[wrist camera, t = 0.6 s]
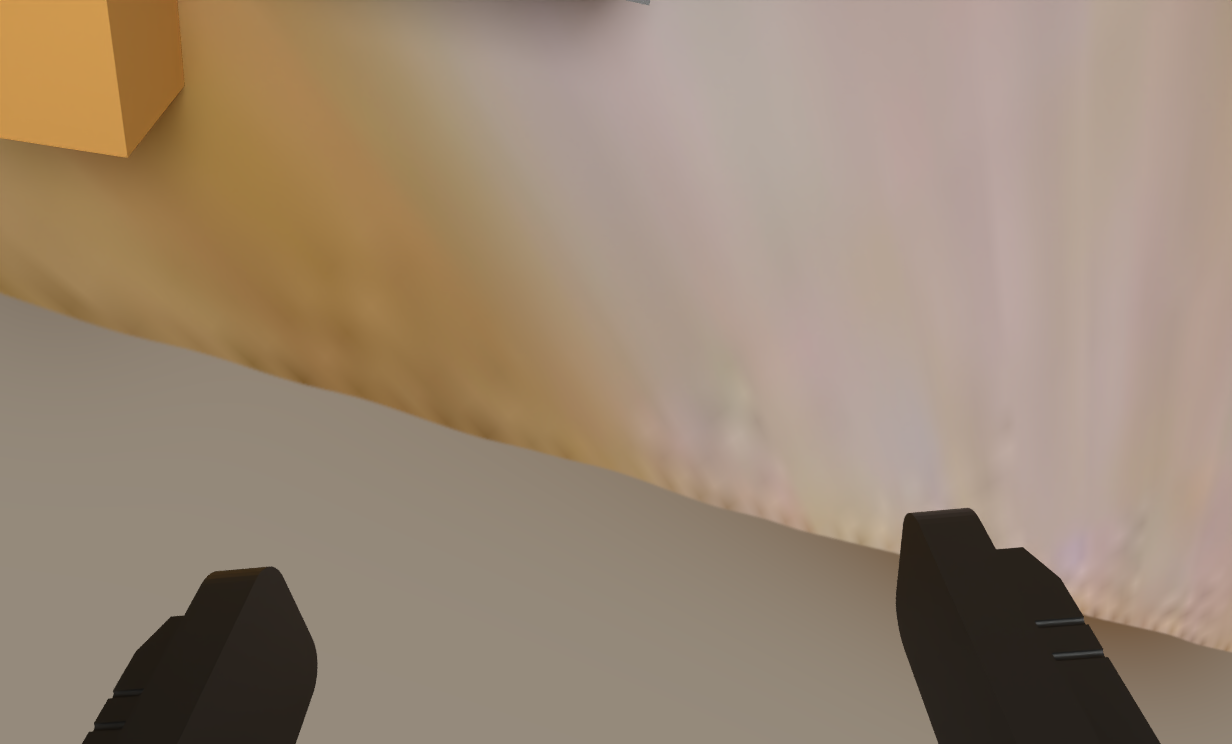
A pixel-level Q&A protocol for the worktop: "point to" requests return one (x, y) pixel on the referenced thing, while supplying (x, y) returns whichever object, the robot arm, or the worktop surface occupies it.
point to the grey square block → (641, 1)
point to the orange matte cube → (87, 71)
